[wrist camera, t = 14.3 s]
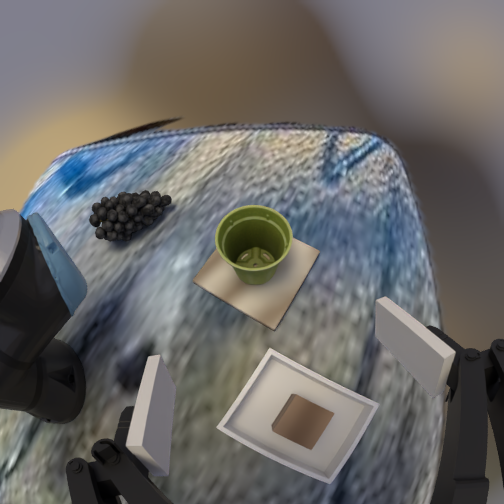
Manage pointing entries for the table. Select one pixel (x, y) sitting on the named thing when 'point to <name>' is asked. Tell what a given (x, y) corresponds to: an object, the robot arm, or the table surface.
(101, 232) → the fruit
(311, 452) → the grey tray
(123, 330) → the table surface
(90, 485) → the robot arm
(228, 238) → the plant pot
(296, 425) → the walnut block
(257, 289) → the ash board
